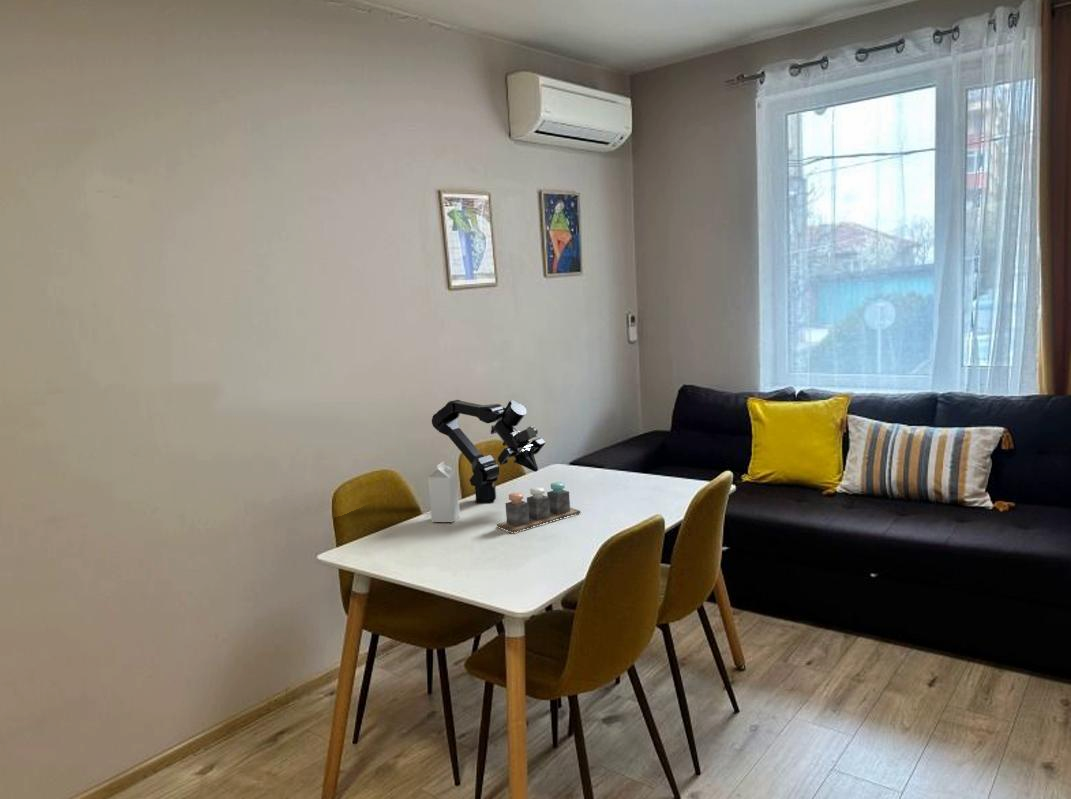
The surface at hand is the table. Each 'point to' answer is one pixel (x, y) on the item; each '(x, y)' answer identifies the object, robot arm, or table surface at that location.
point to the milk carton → (443, 494)
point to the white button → (537, 492)
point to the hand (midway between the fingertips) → (536, 470)
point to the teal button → (557, 487)
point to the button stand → (537, 511)
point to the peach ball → (515, 498)
